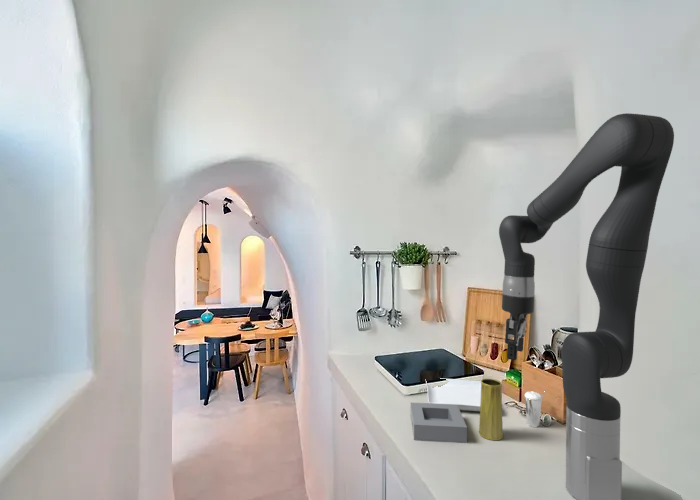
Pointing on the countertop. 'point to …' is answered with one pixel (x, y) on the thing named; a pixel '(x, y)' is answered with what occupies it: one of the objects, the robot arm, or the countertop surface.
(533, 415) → the milkshake
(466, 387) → the salad plate
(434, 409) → the block
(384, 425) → the countertop surface
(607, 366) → the robot arm
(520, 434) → the countertop surface
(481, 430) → the vase
